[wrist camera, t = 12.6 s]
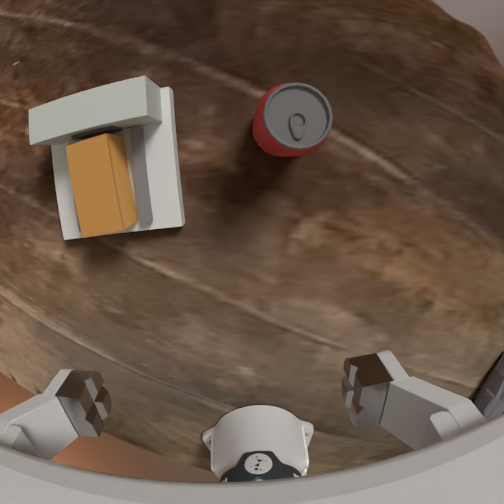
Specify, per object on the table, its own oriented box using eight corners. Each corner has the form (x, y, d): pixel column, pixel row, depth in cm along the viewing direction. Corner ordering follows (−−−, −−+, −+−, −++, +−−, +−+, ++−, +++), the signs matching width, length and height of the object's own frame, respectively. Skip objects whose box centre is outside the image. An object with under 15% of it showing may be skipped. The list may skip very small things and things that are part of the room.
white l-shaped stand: (185, 222, 37) (171, 239, 30) (71, 236, 37) (39, 253, 30) (172, 90, 33) (155, 73, 25) (57, 117, 33) (22, 112, 25)
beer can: (251, 156, 35) (256, 155, 24) (251, 101, 34) (256, 74, 22) (308, 157, 36) (338, 158, 24) (308, 103, 34) (338, 80, 22)
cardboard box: (138, 220, 35) (123, 230, 30) (101, 227, 35) (82, 238, 30) (123, 135, 32) (106, 133, 27) (86, 146, 32) (65, 146, 27)
